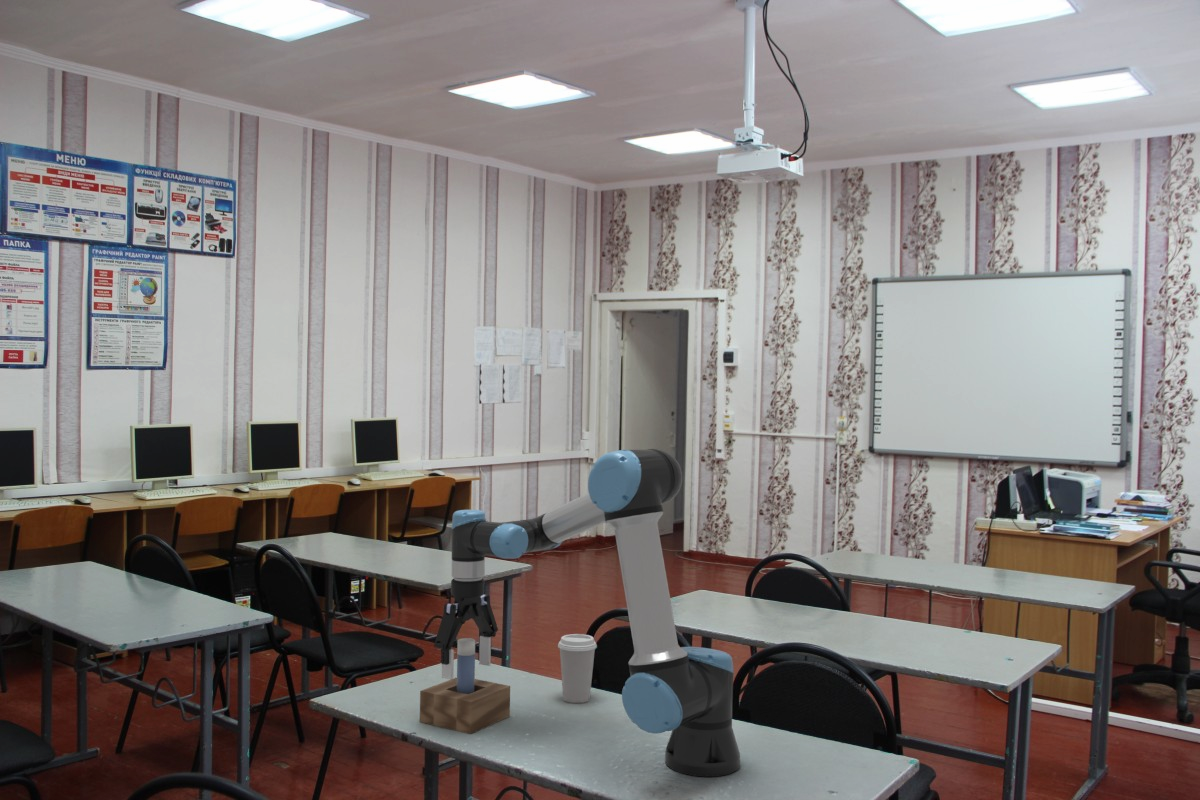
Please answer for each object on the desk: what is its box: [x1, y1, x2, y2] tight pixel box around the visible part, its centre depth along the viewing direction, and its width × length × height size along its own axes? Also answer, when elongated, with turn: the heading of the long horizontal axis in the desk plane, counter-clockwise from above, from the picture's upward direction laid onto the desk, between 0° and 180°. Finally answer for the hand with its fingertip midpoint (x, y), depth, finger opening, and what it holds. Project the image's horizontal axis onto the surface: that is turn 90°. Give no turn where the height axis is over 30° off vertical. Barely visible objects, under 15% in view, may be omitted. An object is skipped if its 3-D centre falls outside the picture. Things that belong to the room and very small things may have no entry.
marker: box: [456, 637, 476, 694], centre depth 228 cm, size 4×4×18 cm
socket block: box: [419, 677, 511, 735], centre depth 228 cm, size 14×14×7 cm
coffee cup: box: [557, 633, 598, 704], centre depth 244 cm, size 10×10×15 cm
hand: (466, 671), depth 228 cm, fingers open, 13 cm apart
